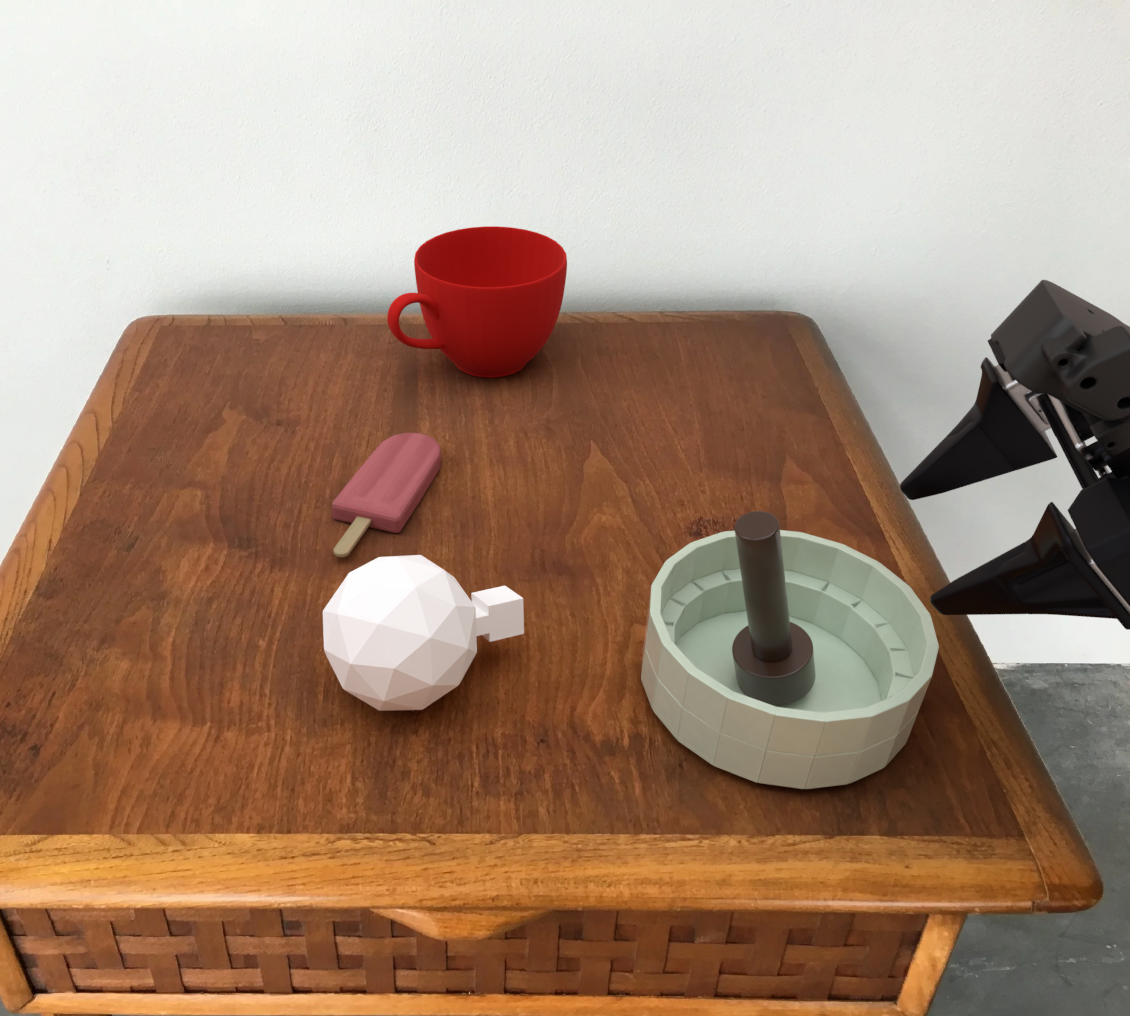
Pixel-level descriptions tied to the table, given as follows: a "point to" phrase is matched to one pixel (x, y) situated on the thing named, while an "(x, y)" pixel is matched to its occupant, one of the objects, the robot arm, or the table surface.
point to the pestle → (768, 619)
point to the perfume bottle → (410, 630)
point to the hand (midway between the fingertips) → (918, 545)
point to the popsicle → (386, 487)
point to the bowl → (841, 655)
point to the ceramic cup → (486, 297)
